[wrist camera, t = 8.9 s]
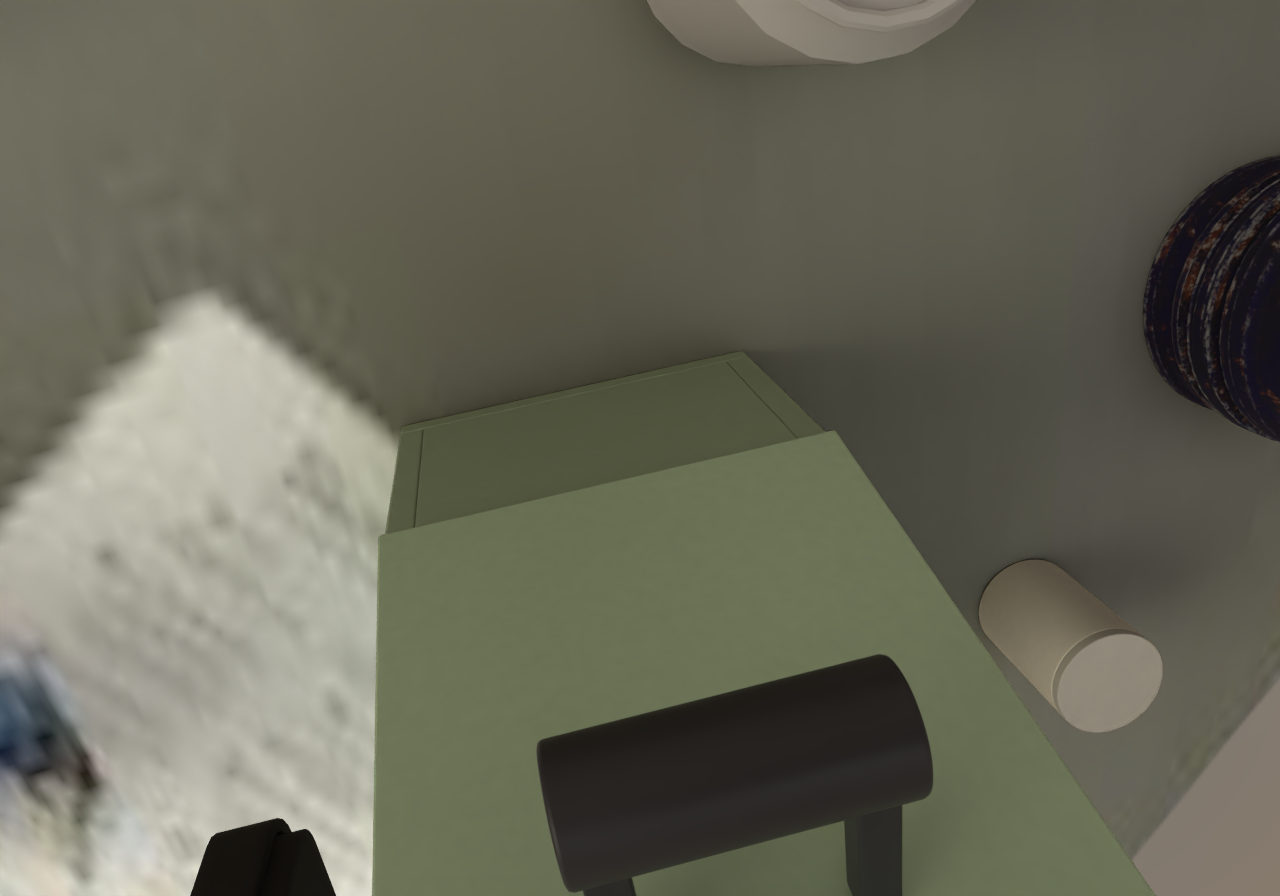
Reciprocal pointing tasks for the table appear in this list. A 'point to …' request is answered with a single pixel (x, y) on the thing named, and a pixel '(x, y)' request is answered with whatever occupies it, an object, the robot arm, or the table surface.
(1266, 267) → the dark blue disc stack
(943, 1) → the can
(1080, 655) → the off-white cylinder
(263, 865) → the robot arm
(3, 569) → the table surface
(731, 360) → the olive green lidded box
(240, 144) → the table surface
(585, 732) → the box lid
